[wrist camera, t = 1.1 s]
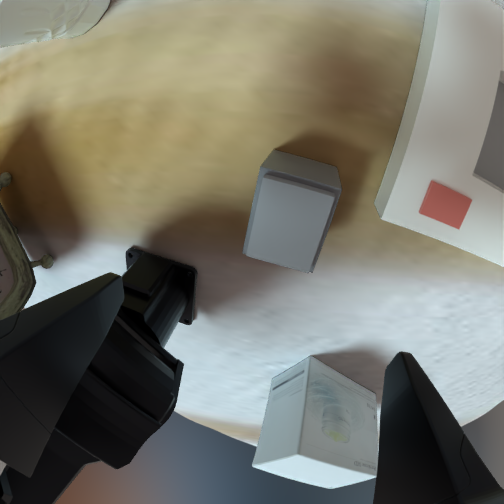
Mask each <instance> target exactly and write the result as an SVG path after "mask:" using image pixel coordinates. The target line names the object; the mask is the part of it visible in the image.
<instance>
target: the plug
mask: <svg viewBox="0 0 504 504" xmlns="http://www.w3.org/2000/svg"><path fill="white" fill-rule="evenodd" d="M341 191H342V187H341V182H340V178H339V174H338V170H337V167H335V166H332V165H329V164H325V163H322V162H318V161H315V160H311V159H308V158H304V157H301V156H297V155H293V154H289V153H285V152H281V151H277V150H273V151H272V152H271V153H270V155H269V156H268V157H267V159H266V160H265V161H264V162H263V164H262V165H261V166H260V171H259V175H258V180H257V185H256V190H255V194H254V199H253V204H252V209H251V213H250V218H249V223H248V228H247V233H246V238H245V242H244V247H243V252H242V253H243V254H246V256H248V257H252V258H255V259H259V260H262V261H266V262H269V263H273V264H277V265H280V266H284V267H287V268H291V269H294V270H298V271H302V272H305V273H309V272H311V273H313V270H314V267H315V265H316V262H317V259H318V257H319V254H320V251H321V249H322V246H323V243H324V240H325V238H326V235H327V232H328V229H329V226H330V223H331V221H332V218H333V215H334V212H335V209H336V206H337V203H338V200H339V197H340V194H341Z"/></svg>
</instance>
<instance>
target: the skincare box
mask: <svg viewBox="0 0 504 504" xmlns="http://www.w3.org/2000/svg"><path fill="white" fill-rule="evenodd" d="M377 465H378V432H377V404H376V394H375V393H373V392H371V391H370V390H368V389H366V388H364V387H363V386H361V385H359V384H357V383H356V382H354V381H352V380H351V379H349V378H347V377H345V376H344V375H342V374H340V373H339V372H337V371H335V370H334V369H332V368H330V367H329V366H327V365H325V364H324V363H322V362H321V361H319V360H317V359H316V358H314V357H312V356H309V357H307V358H306V359H304V360H302V361H301V362H300V363H298V364H297V365H295V366H294V367H292V368H290V369H288V370H287V371H285V372H283V373H282V374H280V375H278V376H276V377H274V378H273V379H272V381H271V388H270V393H269V398H268V403H267V407H266V411H265V416H264V420H263V425H262V429H261V433H260V437H259V441H258V445H257V449H256V453H255V457H254V461H253V464H252V466H253V467H255V468H258V469H261V470H264V471H267V472H270V473H273V474H276V475H279V476H283V477H286V478H289V479H293V480H296V481H300V482H304V483H308V484H312V485H316V486H320V487H325V488H329V489H332V488H337V487H342V486H346V485H350V484H354V483H358V482H362V481H365V480H369V479H372V478H375V477H376V476H377Z"/></svg>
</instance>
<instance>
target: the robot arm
mask: <svg viewBox="0 0 504 504" xmlns="http://www.w3.org/2000/svg"><path fill="white" fill-rule="evenodd" d="M126 265H127V271H126V272H125V273H124V274H123V275H122V276H120V275H117V274H114V273H111V272H110V273H107V274H104V275H102V276H100V277H97V278H95V279H92V280H90V281H88V282H85V283H83V284H81V285H78V286H76V287H74V288H71V289H69V290H67V291H64V292H62V293H60V294H58V295H55V296H53V297H51V298H48V299H46V300H44V301H42V302H39V303H37V304H35V305H33V306H31V307H28V308H26V309H24V310H22V311H21V312H17V313H15V314H13V315H11V316H8V317H6V318H4V319H2V320H0V504H55V502H56V501H57V500H58V499H59V498H60V496H61V495H62V494H63V493H64V491H65V490H66V489H67V488H68V486H69V485H70V484H71V483H72V481H73V480H74V479H75V478H76V476H77V475H78V474H79V473H80V471H81V470H82V469H83V468H84V467H85V466H86V465H88V464H92V463H97V462H101V461H102V462H104V463H106V464H108V465H109V466H111V467H112V468H114V469H119V468H121V467H123V466H125V465H127V464H129V463H130V462H131V460H132V459H133V458H134V456H135V455H136V453H137V452H138V450H139V449H140V447H141V446H142V445H143V444H144V442H145V441H146V440H147V439H148V438H149V437H150V436H151V435H152V434H153V433H155V432H156V431H157V430H158V429H159V428H160V427H161V426H162V425H163V424H164V423H165V422H166V421H167V420H168V419H169V417H170V416H171V414H172V412H173V411H174V408H175V406H176V402H177V397H178V392H179V387H180V381H181V376H182V371H183V366H184V363H182V362H181V361H180V360H179V359H176V358H175V357H173V356H172V355H171V354H170V353H169V352H168V351H166V350H165V349H164V347H165V345H166V343H167V341H168V339H169V338H170V336H171V334H172V332H173V330H174V329H175V327H176V325H177V323H178V322H180V323H183V324H186V325H191V324H192V322H193V317H194V304H195V292H196V280H197V271H196V269H195V268H194V267H191V266H188V265H185V264H181V263H178V262H175V261H172V260H169V259H165V258H162V257H159V256H156V255H153V254H149V253H146V252H143V251H140V250H137V249H134V248H129V249H128V250H127V251H126ZM189 272H191V273H192V274H190V273H189ZM373 504H504V489H502V488H501V487H500V485H499V484H498V483H497V481H496V480H495V478H494V477H493V476H492V474H491V473H490V471H489V470H488V468H487V467H486V465H485V464H484V463H483V461H482V460H481V458H480V457H479V455H478V454H477V452H476V451H475V449H474V448H473V446H472V444H471V443H470V441H469V440H468V438H467V436H466V435H465V434H464V431H463V430H462V428H461V427H460V425H459V423H458V422H457V420H456V419H455V417H454V415H453V414H452V412H451V411H450V409H449V408H448V406H447V405H446V403H445V402H444V400H443V399H442V397H441V396H440V394H439V393H438V391H437V390H436V388H435V387H434V385H433V384H432V382H431V381H430V379H429V378H428V376H427V375H426V374H425V372H424V371H423V369H422V368H421V366H420V365H419V364H418V362H417V361H416V359H415V358H414V357H413V355H412V354H411V353H408V352H402V351H401V352H399V353H397V355H396V356H395V357H394V358H393V360H392V361H391V362H390V363H389V365H388V366H387V368H386V370H385V377H384V387H383V396H382V405H381V414H380V436H379V453H378V465H377V476H376V485H375V493H374V500H373Z"/></svg>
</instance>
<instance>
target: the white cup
mask: <svg viewBox="0 0 504 504" xmlns="http://www.w3.org/2000/svg"><path fill="white" fill-rule="evenodd" d="M109 3H110V0H0V48H2V47H8V46H14V45H21V44H26V43H32V42H41V41H47V40H52V39H69V38H73V37H76V36H80V35H83V34H84V33H85V32H87V31H88V30H89V29H90V28H92V27H93V26H94V25H95V24H97V22H98V21H99V19H100V18H101V17H102V15H103V14H104V12H105V11H106V10H107V8H108V6H109Z"/></svg>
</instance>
